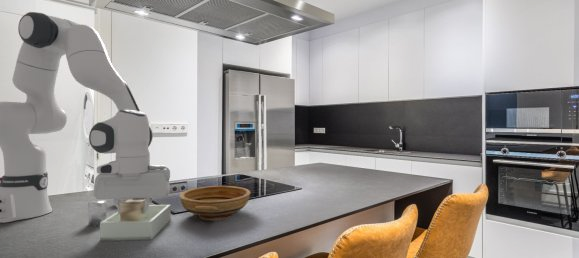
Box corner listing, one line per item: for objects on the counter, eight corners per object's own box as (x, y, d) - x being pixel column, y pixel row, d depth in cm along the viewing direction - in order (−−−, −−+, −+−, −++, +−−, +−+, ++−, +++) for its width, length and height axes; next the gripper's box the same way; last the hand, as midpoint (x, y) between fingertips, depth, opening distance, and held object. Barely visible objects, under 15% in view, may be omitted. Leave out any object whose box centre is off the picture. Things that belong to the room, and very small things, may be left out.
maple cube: (120, 221, 87) (120, 204, 87) (128, 216, 92) (128, 199, 92) (138, 221, 87) (138, 203, 87) (145, 216, 92) (145, 199, 92)
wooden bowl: (195, 203, 123) (195, 183, 123) (255, 204, 123) (255, 184, 123) (163, 229, 94) (163, 203, 93) (243, 230, 93) (243, 203, 93)
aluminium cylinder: (84, 226, 96) (84, 204, 95) (93, 221, 101) (93, 200, 100) (101, 226, 96) (101, 204, 96) (109, 221, 101) (109, 200, 101)
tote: (151, 239, 85) (151, 221, 85) (99, 240, 84) (99, 222, 84) (170, 219, 103) (170, 204, 103) (128, 220, 102) (128, 205, 102)
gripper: (173, 164, 93) (173, 209, 93) (102, 164, 91) (102, 211, 92) (166, 167, 87) (166, 215, 87) (90, 167, 85) (90, 217, 85)
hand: (133, 213), depth 89 cm, fingers closed on maple cube, 5 cm apart
